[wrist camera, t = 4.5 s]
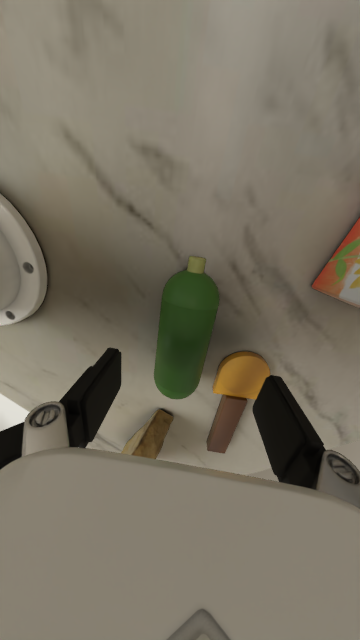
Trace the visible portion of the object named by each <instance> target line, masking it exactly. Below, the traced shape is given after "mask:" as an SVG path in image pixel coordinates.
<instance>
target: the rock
mask: <svg viewBox="0 0 360 640" xmlns="http://www.w3.org/2000/svg"><path fill="white" fill-rule="evenodd" d="M172 421H173V417H172V416H171V415H169V414H167V413H166V412H164V411H162V410H160V409H159V410H157V411H156V412H155V413H154V414H153V416H152V417H151V419H150V420H149V421H148V422H147V423H146V424H145V425H144V426H143V427H142V428H141V429H139V430H138V432H137V433H135V434H134V436H133V437H132V439H130V440H129V441H128V442H127V443H126V445H125V447H124V449H123V451H122V454H128V455H133V456H139V457H145V458H151V459H156V458H157V456H158V454H159V452H160V450H161V448H162V445H163V442H164V438H165V436H166V434H167V431H168V430H169V427H170V424H171V422H172Z"/></svg>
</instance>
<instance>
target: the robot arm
mask: <svg viewBox="0 0 360 640" xmlns="http://www.w3.org/2000/svg"><path fill="white" fill-rule="evenodd" d="M46 290H47V272H46V264H45V261H44V258H43V254H42V251H41V248H40V246H39V244H38V242H37V240H36V238H35V236H34V234H33V232H32V231H31V229H30V228H29V226H28V225H27V223H26V221H25V220H24V218H23V217H22V216H21V215H20V214H19V212H18V211H17V210H16V209H15V208H14V207H13V205H12V204H11V203H10V202H9V201H8V200H7V199H6V198H5V197H4V196H2V195H1V194H0V326H2V325H10V324H13V323H16V322H19V321H21V320H23V319H25V318H27V317H29V316H31V315H32V314H33V313H34V312H35V311H36V310H38V308H39V307H40V305H41V304H42V302H43V300H44V297H45V294H46ZM120 387H121V352H119V350H118V349H115V348H108V349H107V350H106V352H105V353H104V354H103V355H102V356H101V358H100V359H99V360H98V361H97V362H96V364H95V365H94V366H90V367H89V368H88V369H87V370H86V371H85V372H84V373H83V374H82V376H81V377H80V378H79V379H78V380H77V381H76V383H75V384H74V385H73V386H72V387H71V388H70V390H69V391H68V392H67V393H66V394H65V395H64V397H63V398H62V399H61V400H60V401H59V402H47V403H44V404H41V405H39V406H38V407H36V408H34V409H33V410H32V411H31V412H30V413H29V414H28V415H27V417H26V419H25V422H23V423H20V424H18V425H15V426H13V427H10V428H8V429H6V430H3V431H1V432H0V640H360V471H359V470H358V469H357V468H356V466H355V465H354V464H353V463H352V462H351V461H350V460H348V459H347V458H346V457H344V456H343V455H341V454H340V453H338V452H336V451H333V450H325V448H324V446H323V445H324V444H323V442H322V441H321V439H320V437H319V436H318V434H317V433H316V431H315V430H314V428H313V426H312V425H311V423H310V422H309V420H308V419H307V417H306V415H305V414H304V412H303V411H302V409H301V408H300V406H299V405H298V403H297V401H296V400H295V398H294V397H293V395H292V394H291V392H290V390H289V389H288V387H287V386H286V384H285V383H284V381H283V379H282V378H281V377H279V376H273V375H270V376H269V377H266V379H265V381H264V383H263V385H262V387H261V390H260V392H259V394H258V396H257V398H256V401H255V403H254V405H253V414H254V417H255V420H256V423H257V426H258V429H259V432H260V434H261V437H262V440H263V443H264V446H265V449H266V452H267V455H268V458H269V461H270V464H271V467H272V470H273V472H274V474H275V475H277V477H278V480H279V482H277V481H272V480H266V479H261V478H256V477H250V476H245V475H240V474H234V473H229V472H223V471H218V470H212V469H207V468H201V467H196V466H190V465H185V464H179V463H173V462H168V461H162V460H156V459H151V458H145V457H139V456H133V455H128V454H122V453H115V452H109V451H102V450H96V449H88V448H86V446H87V444H88V442H92V441H93V439H94V437H95V435H96V433H97V431H98V429H99V428H100V426H101V424H102V422H103V420H104V418H105V416H106V414H107V412H108V410H109V408H110V406H111V405H112V403H113V401H114V399H115V397H116V395H117V393H118V391H119V389H120ZM78 447H79V448H78Z"/></svg>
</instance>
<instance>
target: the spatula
mask: <svg viewBox="0 0 360 640" xmlns="http://www.w3.org/2000/svg"><path fill="white" fill-rule="evenodd" d="M269 376H270V369H269V366H268V365H267V363H266V361H265V360H264V359H263V358H262V357H261V356H260V355H258V354H256V353H253V352H247V351H243V352H237V353H234V354H231V355H229V356H228V357H226V358H225V359H224V360H223V361H222V362H221V364H220V366H219V368H218V372H217V375H216V378H215V382H214V385H213V393H216V394H223V396H222V399H221V402H220V405H219V408H218V411H217V413H216V416H215V419H214V422H213V425H212V428H211V431H210V434H209V437H208V440H207V450H208V451H212V452H219V453H225V452H226V449H227V447H228V445H229V443H230V440H231V438H232V436H233V433H234V431H235V429H236V427H237V424H238V422H239V420H240V417H241V415H242V413H243V411H244V408H245V406H246V404H247V399H246V398H249V399H256V398H257V396H258V394H259V392H260V390H261V387H262V385H263V383H264V381H265V379H266V377H269Z"/></svg>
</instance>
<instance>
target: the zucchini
mask: <svg viewBox="0 0 360 640" xmlns="http://www.w3.org/2000/svg"><path fill="white" fill-rule="evenodd" d="M205 263H206V259H205V258H202V257H196V256H190V257H189V262H188V268H187V270H184V271H181V272H179V273H177V274H175V275H174V276H173V277H172V278H170V279H169V281H168V282H167V283H166V285H165V287H164V290H163V294H162V302H161V311H160V321H159V331H158V340H157V350H156V360H155V369H154V380H155V383H156V386H157V388H158V389H159V391H160V392H161V393H162V394H163V395H165V396H166V397H169V398H171V399H183V398H186V397H188V396H189V395H191V394H192V393H193V392H194V391H195V389H196V388H197V386H198V384H199V381H200V377H201V373H202V369H203V365H204V361H205V357H206V353H207V349H208V345H209V341H210V337H211V333H212V329H213V325H214V321H215V318H216V314H217V310H218V306H219V292H218V288H217V286H216V284H215V282H214V281H213V280H212V279H211V278H210V277H209V276H208V275H207V274H205V273H204V268H205Z"/></svg>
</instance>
